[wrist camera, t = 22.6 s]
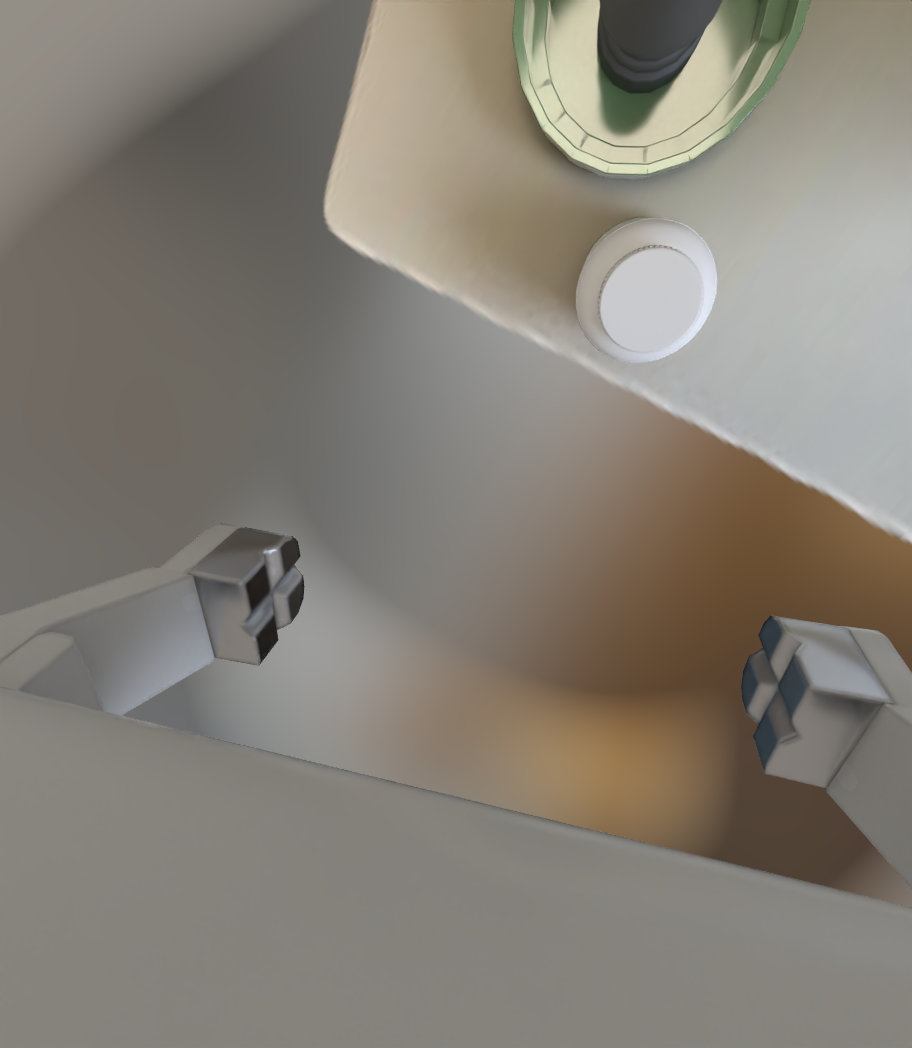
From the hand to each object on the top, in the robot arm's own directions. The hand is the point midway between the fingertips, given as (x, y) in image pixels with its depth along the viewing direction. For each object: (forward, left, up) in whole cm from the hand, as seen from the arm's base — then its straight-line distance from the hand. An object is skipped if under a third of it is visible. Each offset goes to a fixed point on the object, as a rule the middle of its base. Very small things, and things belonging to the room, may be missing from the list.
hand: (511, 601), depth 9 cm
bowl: (-2, -16, -39) cm, 42 cm away
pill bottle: (-4, -2, -39) cm, 39 cm away
